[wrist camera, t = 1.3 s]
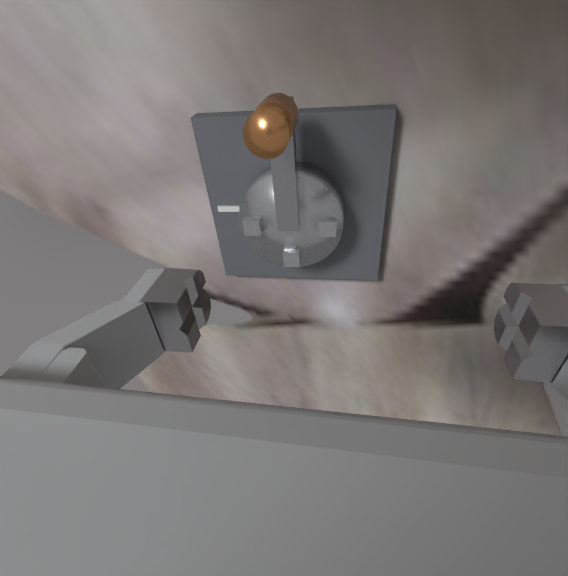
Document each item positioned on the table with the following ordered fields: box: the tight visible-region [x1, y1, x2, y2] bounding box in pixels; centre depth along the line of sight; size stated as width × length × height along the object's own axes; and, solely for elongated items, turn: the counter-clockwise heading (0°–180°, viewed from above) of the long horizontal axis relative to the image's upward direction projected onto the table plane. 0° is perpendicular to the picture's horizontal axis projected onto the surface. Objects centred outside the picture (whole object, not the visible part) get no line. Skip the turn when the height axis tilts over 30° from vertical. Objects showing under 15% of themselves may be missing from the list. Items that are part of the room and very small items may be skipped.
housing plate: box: [191, 104, 397, 281], centre depth 37 cm, size 18×18×2 cm
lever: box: [239, 93, 344, 267], centre depth 31 cm, size 16×10×9 cm, turn 5°
